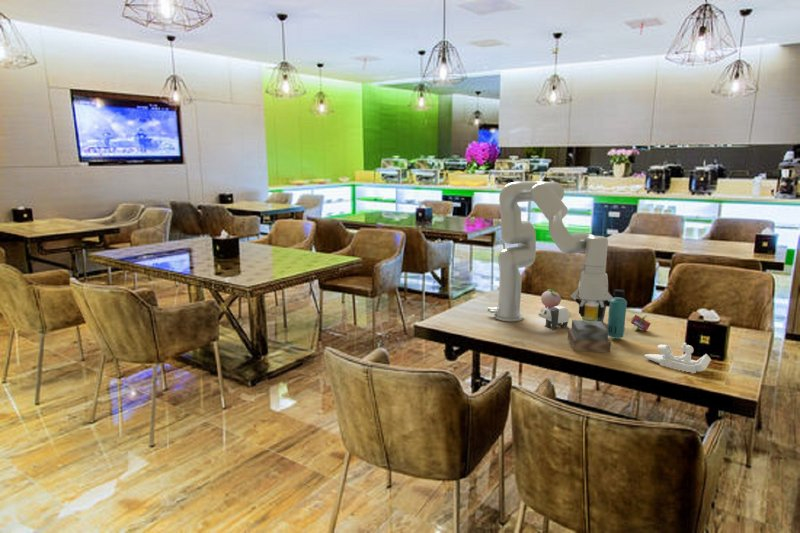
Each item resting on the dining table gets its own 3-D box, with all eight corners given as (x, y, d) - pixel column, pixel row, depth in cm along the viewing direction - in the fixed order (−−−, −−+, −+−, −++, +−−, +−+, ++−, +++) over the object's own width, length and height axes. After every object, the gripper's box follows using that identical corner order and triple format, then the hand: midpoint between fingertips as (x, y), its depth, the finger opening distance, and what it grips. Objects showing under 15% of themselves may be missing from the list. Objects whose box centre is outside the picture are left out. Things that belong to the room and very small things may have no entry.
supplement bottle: (595, 324, 194) (597, 298, 192) (580, 321, 197) (582, 296, 195) (598, 320, 198) (601, 295, 196) (584, 317, 201) (586, 293, 199)
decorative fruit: (536, 307, 248) (537, 286, 246) (551, 305, 251) (553, 285, 249) (547, 312, 240) (549, 291, 237) (563, 311, 242) (564, 290, 240)
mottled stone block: (573, 350, 194) (575, 330, 192) (567, 338, 207) (569, 319, 205) (609, 352, 192) (612, 331, 191) (601, 340, 205) (603, 320, 203)
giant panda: (561, 323, 225) (562, 301, 223) (570, 326, 221) (571, 305, 218) (533, 327, 219) (535, 305, 217) (542, 331, 215) (544, 309, 212)
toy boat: (647, 354, 191) (650, 331, 189) (710, 368, 179) (713, 344, 177) (639, 363, 183) (641, 339, 181) (704, 379, 170) (707, 354, 168)
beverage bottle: (623, 337, 209) (628, 288, 204) (624, 342, 203) (629, 292, 198) (605, 335, 211) (610, 287, 206) (606, 340, 205) (610, 291, 200)
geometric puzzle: (656, 326, 215) (646, 309, 217) (651, 330, 210) (640, 312, 212) (641, 333, 220) (631, 316, 222) (635, 337, 215) (624, 319, 217)
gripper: (572, 270, 191) (568, 318, 195) (621, 272, 188) (616, 320, 192) (568, 266, 198) (565, 312, 202) (616, 268, 196) (611, 314, 200)
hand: (590, 315), depth 197 cm, fingers closed on supplement bottle, 5 cm apart
